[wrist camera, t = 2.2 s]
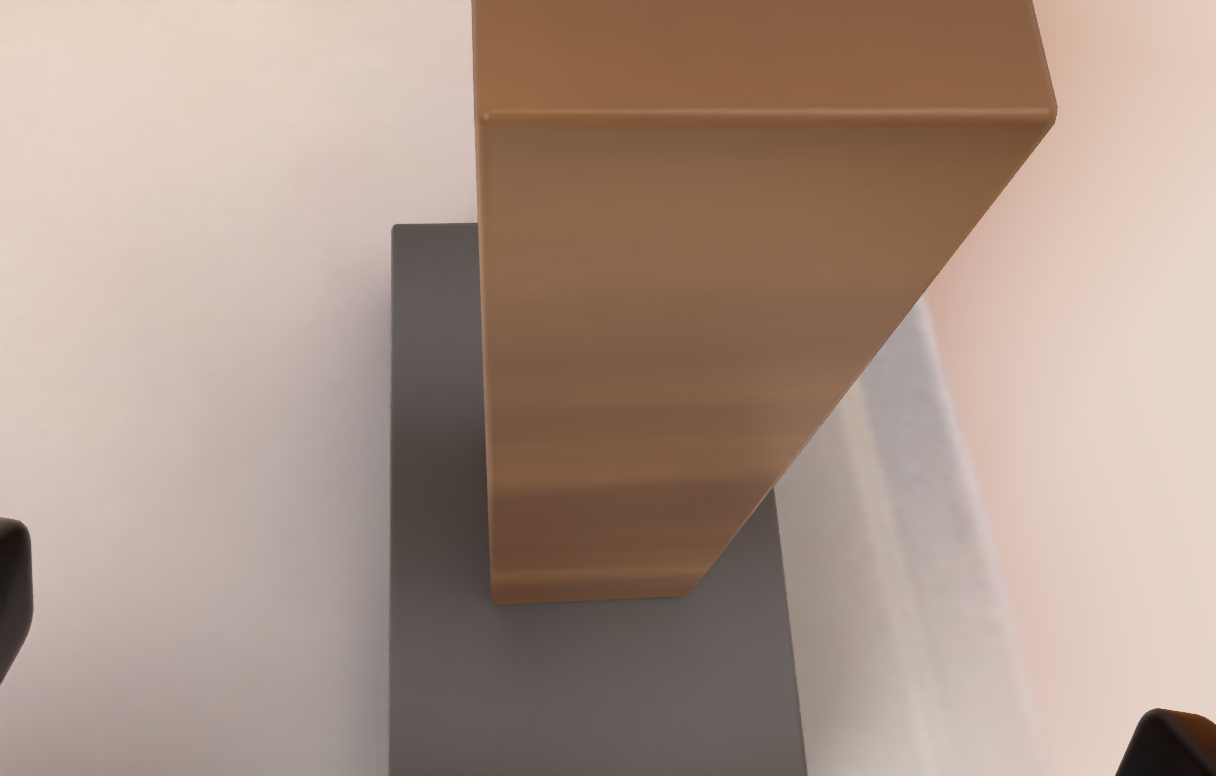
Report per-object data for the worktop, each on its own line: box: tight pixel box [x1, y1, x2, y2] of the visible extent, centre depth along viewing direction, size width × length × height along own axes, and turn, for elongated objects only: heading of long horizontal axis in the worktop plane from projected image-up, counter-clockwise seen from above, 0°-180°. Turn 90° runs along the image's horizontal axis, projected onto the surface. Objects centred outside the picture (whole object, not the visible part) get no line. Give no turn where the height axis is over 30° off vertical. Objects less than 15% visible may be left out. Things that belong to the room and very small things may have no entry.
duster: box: [388, 0, 1057, 776], centre depth 13 cm, size 10×6×15 cm, turn 4°
